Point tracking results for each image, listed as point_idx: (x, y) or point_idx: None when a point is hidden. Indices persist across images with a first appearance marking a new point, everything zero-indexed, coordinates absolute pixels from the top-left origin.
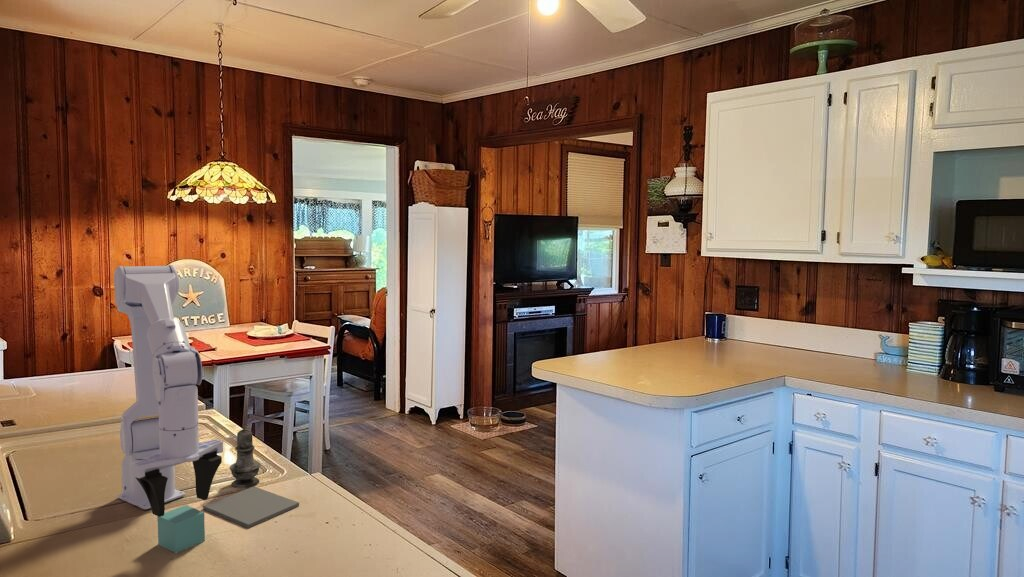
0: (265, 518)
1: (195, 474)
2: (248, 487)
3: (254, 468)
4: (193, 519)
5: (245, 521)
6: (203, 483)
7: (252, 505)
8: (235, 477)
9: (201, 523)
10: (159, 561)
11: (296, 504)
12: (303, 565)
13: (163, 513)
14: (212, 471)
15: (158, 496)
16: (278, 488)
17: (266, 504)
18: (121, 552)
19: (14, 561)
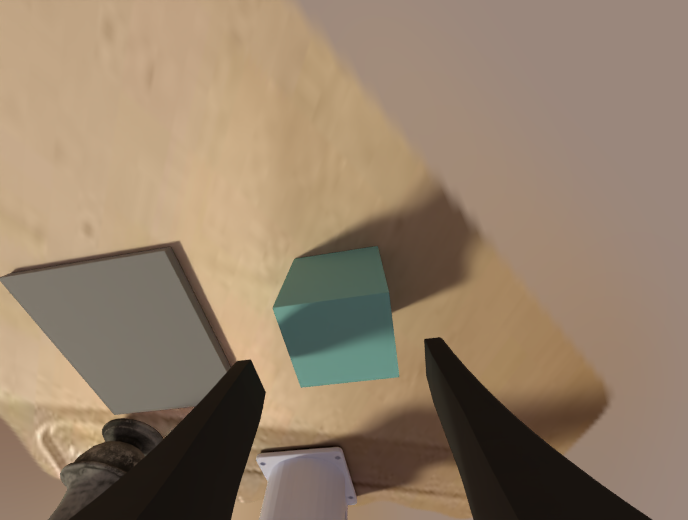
0: (112, 258)
1: (230, 511)
2: (130, 419)
3: (77, 466)
4: (317, 295)
5: (168, 273)
6: (219, 435)
7: (133, 340)
8: (141, 458)
9: (292, 285)
10: (429, 232)
11: (9, 275)
12: None
13: (429, 344)
14: (122, 500)
15: (512, 419)
16: (62, 383)
17: (96, 323)
18: (460, 331)
19: (594, 414)
